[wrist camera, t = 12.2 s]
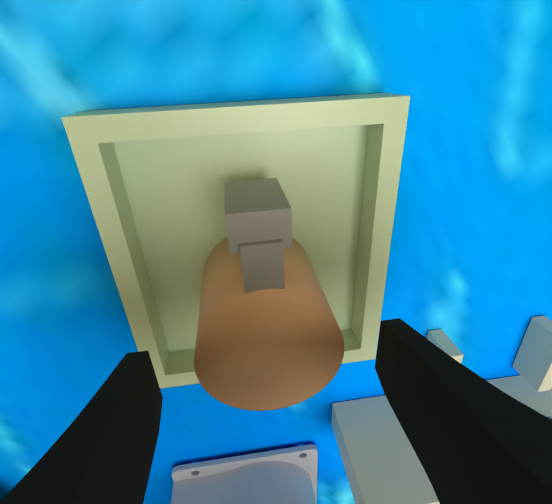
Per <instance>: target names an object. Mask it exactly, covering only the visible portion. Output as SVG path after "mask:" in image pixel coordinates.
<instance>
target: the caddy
mask: <svg viewBox="0 0 552 504" xmlns="http://www.w3.org/2000/svg"><path fill="white" fill-rule="evenodd" d="M225 221H226V229H227V237H226V238H225V239H223V240H222V241H221V242H220V243H219V244H218V245H217V246H216V247H215V248H214V249H213V250H212V251H211V253H210V255H209V256H208V258H207V261H206V263H205V267H204V273H203V282H202V291H201V300H200V308H199V317H198V326H197V335H196V344H195V353H194V368H195V373H196V376H197V378H198V380H199V382H200V384H201V385H202V387H203V388H204V389H205V390H206V391H207V392H208V393H209V394H210V395H211V396H213V397H214V398H215V399H217V400H219V401H221V402H222V403H224V404H227V405H229V406H232V407H236V408H240V409H245V410H255V411H265V410H275V409H280V408H285V407H288V406H292V405H295V404H297V403H300V402H302V401H304V400H306V399H308V398H310V397H312V396H313V395H315V394H316V393H318V392H319V391H320V390H322V389H323V388H324V387H325V386H326V385H327V384H328V383H329V382H330V381H331V380H332V379H333V378H334V376H335V375H336V373H337V372H338V370H339V368H340V366H341V363H342V360H343V357H344V339H343V335H342V333H341V330H340V328H339V326H338V323H337V321H336V319H335V317H334V314H333V312H332V310H331V308H330V305H329V303H328V301H327V299H326V296H325V294H324V292H323V290H322V288H321V285H320V283H319V281H318V279H317V276H316V274H315V272H314V270H313V267H312V265H311V263H310V261H309V258H308V256H307V254H306V252H305V251H304V249H303V247H302V246H301V245H300V244H299V243H298V242H297V241H296V240H295V239H294V238H292V210H291V206H290V204H289V202H288V200H287V198H286V196H285V194H284V192H283V190H282V188H281V186H280V184H279V182H278V180H277V178H268V179H257V180H245V181H233V182H225Z"/></svg>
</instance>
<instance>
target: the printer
mask: <svg viewBox="0 0 552 504" xmlns="http://www.w3.org/2000/svg"><path fill="white" fill-rule="evenodd" d="M427 339H428V340H429V341H430V342H432V343H433V344H435V345H436V346H437V347H439V348H440V349H441V350H443V351H444V352H445V353H447V354H448V355H450V356H451V357H452V358H454V359H455V360H457V361H458V362H459V363H461V362H462V359H463V354H462V353H461V351H460V350H459V349H458V348H457V347H456V345H455V344H454V343H453V342H452V341H451V339H450V338H449V337H448V336H447V335H446V334H445V332H444V331H443V330H442V329H438V330H431V331H428V335H427ZM512 367H513V368H514V369H515V370H516V371H517V372H518V373H519V374H520V375H518V376H511V377H504V378H497V379H491V380H486V381H488V382H489V383H491V384H492V385H494V386H495V387H497V388H498V389H500V390H501V391H503V392H505V393H506V394H508V395H510V396H511V397H513V398H515V399H516V400H518V401H520V402H521V403H523V404H525V405H527V406H528V407H530V408H532V409H534V410H535V411H537V412H539V413H541V414H542V415H544V416H546V417H548V418H550V419H551V420H552V321H551V320H550V319H549V318H547V317H546V316H537V317H532V319H531V321H530V323H529V326H528V328H527V331H526V333H525V336H524V338H523V341H522V343H521V345H520V348H519V350H518V353H517V355H516V358H515V360H514V363H513V365H512ZM331 424H332V428H333V431H334V434H335V438H336V441H337V444H338V447H339V451H340V454H341V457H342V461H343V464H344V467H345V471H346V474H347V477H348V481H349V484H350V487H351V491H352V494H353V497H354V500H355V504H440V503H439V501H438V498H437V496H436V494H435V491H434V489H433V487H432V484H431V482H430V480H429V478H428V476H427V474H426V472H425V470H424V468H423V466H422V464H421V462H420V461H419V459H418V457H417V455H416V453H415V451H414V449H413V447H412V445H411V444H410V442H409V440H408V438H407V436H406V434H405V432H404V430H403V428H402V427H401V425H400V423H399V421H398V419H397V417H396V415H395V413H394V411H393V409H392V407H391V406H390V404H389V402H388V400H387V398H386V395H383V396H377V397H370V398H363V399H357V400H350V401H343V402H337V403H332V419H331Z"/></svg>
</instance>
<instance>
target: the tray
mask: <svg viewBox="0 0 552 504" xmlns="http://www.w3.org/2000/svg"><path fill="white" fill-rule="evenodd" d="M409 102H410V96H407V95H399V94H390V93H373V94H356V95H340V96H323V97H306V98H289V99H273V100H256V101H239V102H222V103H206V104H189V105H172V106H155V107H139V108H122V109H105V110H88V111H83V112H79V113H75V114H72V115H68V116H64V117H61V118H62V121H63V124H64V127H65V130H66V133H67V136H68V139H69V142H70V145H71V148H72V151H73V154H74V157H75V160H76V163H77V166H78V170H79V173H80V176H81V179H82V182H83V185H84V188H85V191H86V194H87V197H88V200H89V203H90V206H91V209H92V212H93V215H94V218H95V221H96V224H97V227H98V230H99V233H100V236H101V239H102V242H103V246H104V249H105V252H106V255H107V258H108V261H109V264H110V267H111V270H112V273H113V276H114V279H115V282H116V285H117V288H118V291H119V294H120V297H121V300H122V303H123V306H124V309H125V312H126V315H127V318H128V321H129V325H130V328H131V331H132V334H133V337H134V340H135V343H136V346H137V349H138V352H140V351H149V355H150V358H151V361H152V364H153V368H154V371H155V374H156V378H157V381H158V384H159V387H160V389H161V388H168V387H176V386H183V385H190V384H197V383H200V382H199V380H198V378H197V376H196V373H195V368H194V353H195V344H196V335H197V326H198V317H199V308H200V300H201V291H202V282H203V273H204V267H205V263H206V261H207V258H208V256H209V255H210V253H211V251H212V250H213V249H214V248H215V247H216V246H217V245H218V244H219V243H220V242H221V241H222V240H223V239H225V238H226V237H227V229H226V221H225V182H233V181H245V180H257V179H268V178H277V180H278V182H279V184H280V186H281V188H282V190H283V192H284V194H285V196H286V198H287V200H288V202H289V204H290V206H291V210H292V238H294V239H295V240H296V241H297V242H298V243H299V244H300V245H301V246H302V247H303V249H304V251H305V252H306V254H307V256H308V258H309V261H310V263H311V265H312V267H313V270H314V272H315V274H316V276H317V279H318V281H319V283H320V285H321V288H322V290H323V292H324V294H325V296H326V299H327V301H328V303H329V305H330V308H331V310H332V312H333V314H334V317H335V319H336V321H337V323H338V326H339V328H340V330H341V333H342V335H343V339H344V357H343V360H342V363H350V362H357V361H364V360H371V359H375V357H376V350H377V342H378V335H379V327H380V320H381V312H382V305H383V297H384V290H385V282H386V275H387V267H388V260H389V252H390V245H391V237H392V230H393V222H394V215H395V207H396V200H397V192H398V185H399V177H400V170H401V162H402V155H403V147H404V140H405V132H406V125H407V117H408V110H409ZM342 363H341V364H342Z"/></svg>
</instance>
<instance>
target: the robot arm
mask: <svg viewBox="0 0 552 504" xmlns="http://www.w3.org/2000/svg"><path fill="white" fill-rule="evenodd" d="M375 369H376V372H377V374H378V377H379V380H380V382H381V385H382V388H383V390H384V393H385V395H386V398H387V400H388V402H389V404H390V406H391V407H392V409H393V411H394V413H395V415H396V417H397V419H398V421H399V423H400V425H401V427H402V428H403V430H404V432H405V434H406V436H407V438H408V440H409V442H410V444H411V445H412V447H413V449H414V451H415V453H416V455H417V457H418V459H419V461H420V462H421V464H422V466H423V468H424V470H425V472H426V474H427V476H428V478H429V480H430V482H431V484H432V487H433V489H434V491H435V494H436V496H437V498H438V501H439V503H440V504H552V420H551V419H550V418H548V417H546V416H544V415H542V414H541V413H539V412H537V411H535V410H534V409H532V408H530V407H528V406H527V405H525V404H523V403H521V402H520V401H518V400H516V399H515V398H513V397H511V396H510V395H508V394H506V393H505V392H503V391H501V390H500V389H498V388H497V387H495V386H494V385H492V384H491V383H489V382H488V381H486V380H484V379H483V378H481V377H480V376H478V375H477V374H475V373H474V372H472V371H471V370H469V369H468V368H467V367H465V366H464V365H462V364H461V363H459V362H458V361H457V360H455V359H454V358H452V357H451V356H450V355H448V354H447V353H445V352H444V351H443V350H441V349H440V348H439V347H437V346H436V345H435V344H433V343H432V342H430V341H429V340H428V339H426V338H425V337H424V336H422V335H421V334H420V333H418V332H417V331H416V330H414V329H413V328H412V327H410V326H409V325H408V324H406V323H405V322H404V321H402V320H401V319H392V320H384V321H381V325H380V332H379V340H378V348H377V356H376V363H375ZM162 398H163V397H162V394H161V391H160V387H159V384H158V381H157V378H156V374H155V371H154V368H153V364H152V361H151V358H150V355H149V351H140V352H132V353H127V354H126V355H125V356H124V358H123V359H122V360H121V361H120V363H119V364H118V365H117V367H116V368H115V369H114V370H113V372H112V373H111V374H110V376H109V377H108V378H107V380H106V381H105V382H104V384H103V385H102V386H101V387H100V389H99V390H98V391H97V393H96V394H95V395H94V396H93V398H92V399H91V400H90V401H89V403H88V404H87V405H86V406H85V408H84V409H83V410H82V411H81V413H80V414H79V415H78V416H77V418H76V419H75V420H74V421H73V422H72V424H71V425H70V426H69V427H68V428H67V429H66V431H65V432H64V433H63V434H62V435H61V436H60V438H59V439H58V440H57V441H56V442H55V443H54V444H53V446H52V447H51V448H50V449H49V450H48V451H47V452H46V454H45V455H44V456H43V457H42V458H41V459H40V460H39V461H38V462H37V464H36V465H35V466H34V467H33V468H32V469H31V470H30V471H29V472H28V473H27V474H26V475H25V476H24V477H23V478H22V480H21V481H20V482H19V483H18V484H17V485H16V486H15V487H14V488H13V489H12V490H11V491H10V492H9V493H8V494H7V495H6V496H5V497H4V498H3V499H2V500H1V501H0V504H143V500H144V496H145V492H146V487H147V483H148V478H149V474H150V470H151V465H152V461H153V456H154V452H155V447H156V443H157V438H158V434H159V426H160V418H161V408H162ZM317 466H318V451H317V447H316V446H315V445H313V444H309V445H303V446H296V447H290V448H284V449H278V450H271V451H265V452H259V453H253V454H246V455H240V456H234V457H228V458H221V459H215V460H209V461H203V462H196V463H190V464H184V465H178V466H176V467H174V468H173V469H172V479H173V489H172V497H171V504H317Z"/></svg>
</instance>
